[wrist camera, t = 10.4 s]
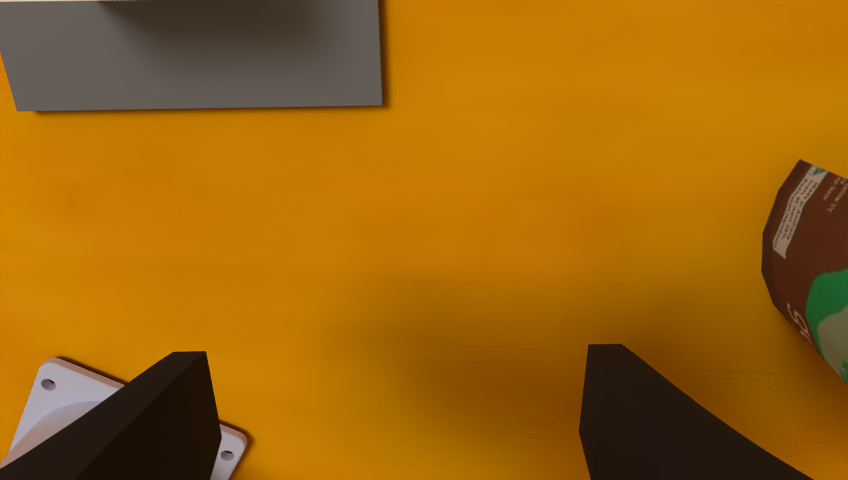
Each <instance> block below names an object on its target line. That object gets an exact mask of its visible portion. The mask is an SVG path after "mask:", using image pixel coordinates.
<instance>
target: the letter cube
mask: <svg viewBox="0 0 848 480" xmlns="http://www.w3.org/2000/svg"><path fill="white" fill-rule="evenodd" d="M12 1H94V0H0V2H12Z"/></svg>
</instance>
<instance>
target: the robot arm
mask: <svg viewBox="0 0 848 480" xmlns="http://www.w3.org/2000/svg"><path fill="white" fill-rule="evenodd" d="M48 379H50V380H52V381H54V383H55V384H53V383H51V382H50V381H49V380H48ZM579 434H580V438H581V442H582V446H583V450H584V454H585V459H586V462H587V466H588V470H589V474H590V477H591V480H813V479H812V478H810V477H808V476H806V475H805V474H803V473H801V472H800V471H798V470H796V469H795V468H793V467H791V466H790V465H788V464H786V463H784V462H783V461H781V460H779V459H778V458H776V457H775V456H773V455H771V454H770V453H768V452H767V451H765V450H764V449H762V448H761V447H759V446H757V445H756V444H755V443H753V442H752V441H750V440H749V439H747V438H746V437H744V436H743V435H741V434H740V433H738V432H737V431H735V430H734V429H733V428H731V427H730V426H728V425H727V424H725V423H724V422H722V421H721V420H720V419H718V418H717V417H716V416H714V415H713V414H711V413H710V412H709V411H707V410H706V409H705V408H703V407H702V406H701V405H699V404H698V403H697V402H695V401H694V400H693V399H691V398H690V397H689V396H687V395H686V394H685V393H683V392H682V391H681V390H680V389H678V388H677V387H676V386H674V385H673V384H672V383H671V382H669V381H668V380H667V379H666V378H664V377H663V376H662V375H661V374H659V373H658V372H657V371H655V370H654V369H653V368H652V367H650V366H649V365H648V364H647V363H645V362H644V361H643V360H642V359H640V358H639V357H638V356H637V355H635V354H634V353H633V352H631V351H630V350H629V349H627V348H626V347H625V346H623V345H622V344H591V345H588V354H587V363H586V372H585V381H584V390H583V399H582V408H581V417H580V426H579ZM246 445H247V438H246V437H245V435H244V434H242V433H241V432H239V431H236V430H234V429H231V428H229V427H226V426H224V425H222V424H220V423H219V418H218V413H217V407H216V402H215V397H214V392H213V386H212V381H211V376H210V370H209V365H208V360H207V355H206V351H193V352H173V353H171V354H169V355H168V356H166V357H164V358H163V359H161V360H160V361H158V362H157V363H156V364H154V365H153V366H151V367H150V368H148V369H147V370H146V371H144V372H143V373H141V374H140V375H139V376H137V377H136V378H134V379H133V380H132V381H130V382H129V383H127V384H126V385H123V384H121V383H118V382H116V381H113V380H111V379H109V378H106V377H104V376H101V375H99V374H96V373H94V372H91V371H89V370H86V369H84V368H81V367H79V366H77V365H74V364H72V363H69V362H67V361H64V360H62V359H58V358H50V359H48V360H46V361H45V362H44V363H43V364H42V365H41V367H40V368H39V370H38V373H37V376H36V379H35V381H34V384H33V387H32V390H31V392H30V395H29V398H28V401H27V403H26V406H25V409H24V412H23V414H22V417H21V420H20V423H19V425H18V428H17V431H16V434H15V436H14V439H13V442H12V445H11V447H10V450H9V453H8V455H7V456H6V457H5V458H4V459H3V460H2V461H1V463H0V480H228V479H229V477H230V475H231V474H232V472H233V470H234V468H235V467H236V465H237V463H238V461H239V459H240V458H241V456H242V454H243V452H244V450H245V448H246ZM225 450H227V451H231V452H232V454H230V453H227V452H225Z"/></svg>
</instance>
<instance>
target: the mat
mask: <svg viewBox="0 0 848 480" xmlns="http://www.w3.org/2000/svg"><path fill="white" fill-rule="evenodd" d="M0 52H1V56H2V59H3V63H4V66H5V70H6V73H7V77H8V80H9V84H10V87H11V91H12V94H13V98H14V102H15V105H16V109H17V111H72V110H133V109H194V108H254V107H315V106H376V105H382V104H383V85H382V61H381V37H380V12H379V0H94V1H12V2H0Z"/></svg>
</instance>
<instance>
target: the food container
mask: <svg viewBox="0 0 848 480" xmlns="http://www.w3.org/2000/svg"><path fill="white" fill-rule="evenodd" d="M761 272H762V274H763V277H764V280H765V283H766V285H767V288H768V291H769V294H770V296H771V299H772V302H773V304H774V305H775V306H776V307H777V308H778V309H779V310H780V312H781V313H782V314H783V315H784V316H785V317H786V318H787V319H788V320H789V321H790V323H791V324H792V325H793V326H794V327H795V328H796V329H797V330H798V331H799V332H800V333H801V335H802V336H803V337H804V338H805V339H806V340H807V341H808V342H809V343H810V344H811V345H812V347H813V348H814V349H815V350H816V351H817V352H818V353H819V354H820V355H821V356H822V357H823V359H824V360H825V361H826V362H827V363H828V364H829V365H830V366H831V367H832V368H833V370H834V371H835V372H836V373H837V374H838V375H839V376H840V377H841V378H842V379H843V380H844V382H845V383H846V384H847V385H848V179H846V178H843V177H841V176H839V175H836V174H834V173H831V172H829V171H827V170H824V169H822V168H820V167H817V166H815V165H812V164H810V163H808V162H805V161H803V160H801V159H800V160H799V161H798V163H797V164H796V166H795V167H794V169H793V170H792V171H791V173H790V174H789V176H788V177H787V179H786V180H785V182H784V183H783V185H782V186H781V188H780V189H779V191H778V193H777V196H776V199H775V201H774V204H773V207H772V209H771V212H770V215H769V218H768V220H767V223H766V226H765V228H764V231H763V242H762V270H761Z"/></svg>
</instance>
